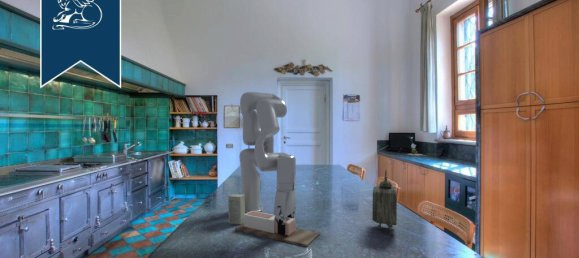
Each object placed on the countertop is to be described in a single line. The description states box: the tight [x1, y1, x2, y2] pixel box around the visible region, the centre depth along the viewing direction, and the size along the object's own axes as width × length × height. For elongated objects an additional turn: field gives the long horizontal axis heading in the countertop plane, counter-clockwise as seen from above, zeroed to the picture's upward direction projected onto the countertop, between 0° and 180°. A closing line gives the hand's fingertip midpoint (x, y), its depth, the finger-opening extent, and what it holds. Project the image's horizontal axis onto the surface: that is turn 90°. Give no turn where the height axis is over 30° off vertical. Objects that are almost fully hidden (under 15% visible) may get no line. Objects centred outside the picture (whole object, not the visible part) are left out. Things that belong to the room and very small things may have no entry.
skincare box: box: [227, 193, 245, 226], centre depth 119 cm, size 6×4×12 cm
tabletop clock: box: [371, 169, 398, 236], centre depth 112 cm, size 14×9×25 cm, turn 160°
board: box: [235, 223, 321, 248], centre depth 108 cm, size 32×12×1 cm, turn 62°
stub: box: [275, 217, 297, 236], centre depth 106 cm, size 6×6×5 cm
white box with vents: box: [243, 211, 281, 233], centre depth 111 cm, size 15×6×5 cm, turn 62°
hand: (285, 230), depth 106 cm, fingers closed on stub, 6 cm apart
